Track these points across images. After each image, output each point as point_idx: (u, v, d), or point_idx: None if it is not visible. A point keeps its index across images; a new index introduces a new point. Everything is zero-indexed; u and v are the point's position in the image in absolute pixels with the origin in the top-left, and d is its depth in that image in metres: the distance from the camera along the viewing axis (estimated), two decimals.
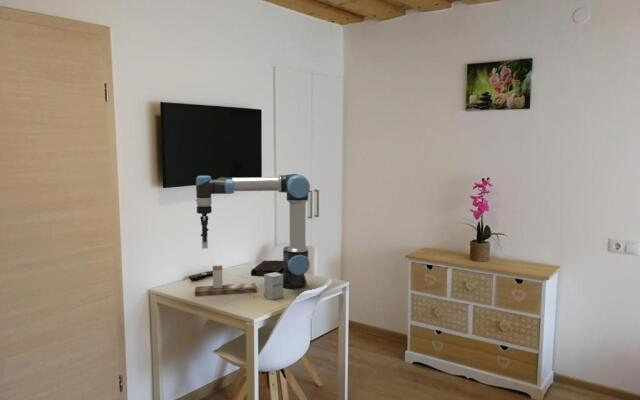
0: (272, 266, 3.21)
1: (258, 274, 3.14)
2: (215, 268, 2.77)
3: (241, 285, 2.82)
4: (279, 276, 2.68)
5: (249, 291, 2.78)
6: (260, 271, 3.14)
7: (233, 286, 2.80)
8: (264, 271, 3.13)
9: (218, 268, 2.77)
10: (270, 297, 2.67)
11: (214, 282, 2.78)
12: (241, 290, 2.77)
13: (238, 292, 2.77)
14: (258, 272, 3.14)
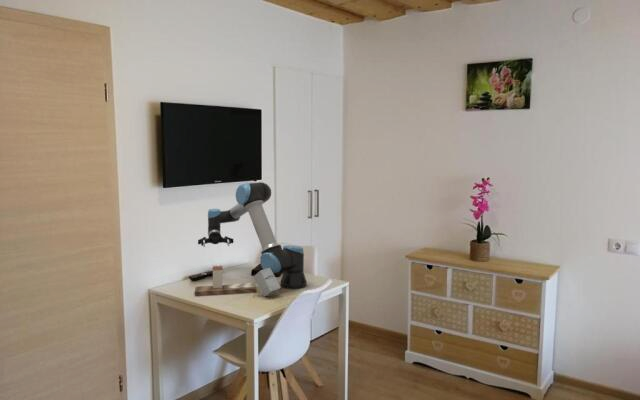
0: None
1: None
2: (215, 268, 2.77)
3: (241, 285, 2.82)
4: (267, 269, 2.73)
5: (249, 291, 2.78)
6: None
7: (233, 286, 2.80)
8: None
9: (218, 268, 2.77)
10: (268, 290, 2.68)
11: (214, 282, 2.78)
12: (241, 290, 2.77)
13: (238, 292, 2.77)
14: None
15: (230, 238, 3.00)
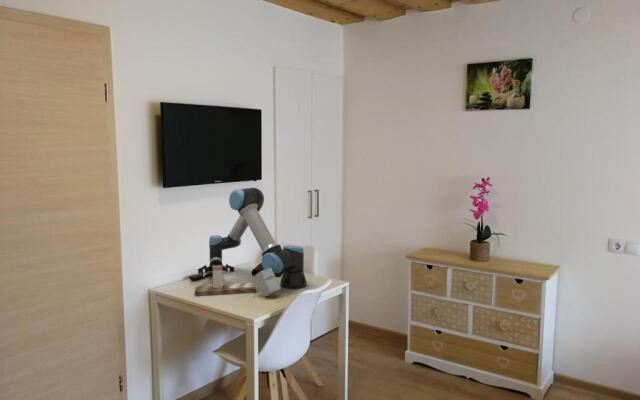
0: None
1: None
2: (215, 268, 2.77)
3: (241, 285, 2.82)
4: (268, 269, 2.72)
5: (249, 291, 2.78)
6: None
7: (233, 286, 2.80)
8: None
9: (218, 268, 2.77)
10: (268, 291, 2.68)
11: (214, 282, 2.78)
12: (241, 290, 2.77)
13: (238, 292, 2.77)
14: None
15: (231, 266, 2.94)
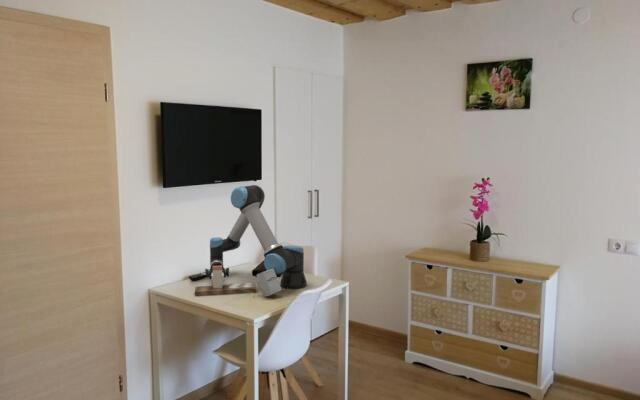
0: None
1: None
2: (215, 268, 2.77)
3: (241, 285, 2.82)
4: (270, 270, 2.71)
5: (249, 291, 2.78)
6: (261, 271, 3.14)
7: (233, 286, 2.80)
8: None
9: (218, 268, 2.77)
10: (269, 293, 2.68)
11: (214, 282, 2.78)
12: (241, 290, 2.77)
13: (238, 292, 2.77)
14: (259, 272, 3.14)
15: (227, 271, 2.84)
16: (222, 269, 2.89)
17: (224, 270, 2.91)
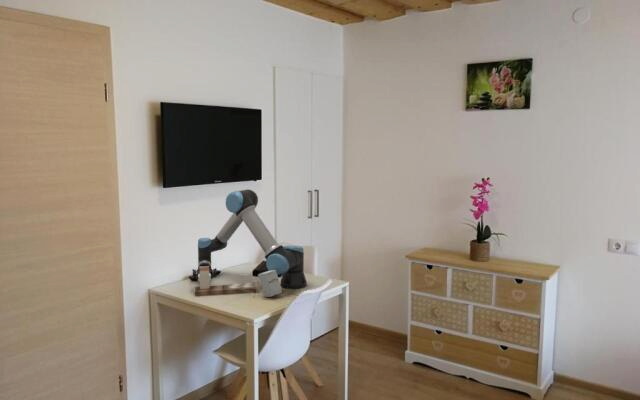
0: None
1: None
2: (202, 269, 2.75)
3: (241, 285, 2.82)
4: (272, 271, 2.70)
5: (249, 291, 2.78)
6: (261, 271, 3.14)
7: (233, 286, 2.80)
8: (265, 271, 3.13)
9: (205, 268, 2.76)
10: (269, 294, 2.67)
11: (201, 283, 2.76)
12: (241, 290, 2.77)
13: (238, 292, 2.77)
14: (259, 272, 3.14)
15: (214, 271, 2.83)
16: (209, 270, 2.88)
17: (212, 271, 2.89)
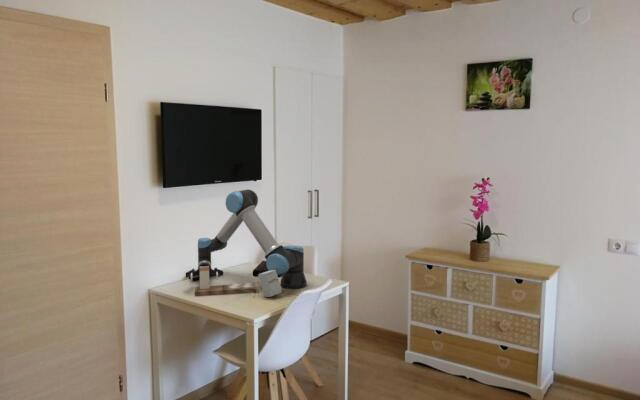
0: None
1: None
2: (202, 269, 2.75)
3: (241, 285, 2.82)
4: (272, 271, 2.70)
5: (249, 291, 2.78)
6: (262, 271, 3.13)
7: (233, 286, 2.80)
8: (266, 271, 3.13)
9: (205, 268, 2.76)
10: (269, 294, 2.67)
11: (201, 283, 2.76)
12: (241, 290, 2.77)
13: (238, 292, 2.77)
14: (260, 272, 3.14)
15: (220, 270, 2.85)
16: (211, 269, 2.88)
17: None
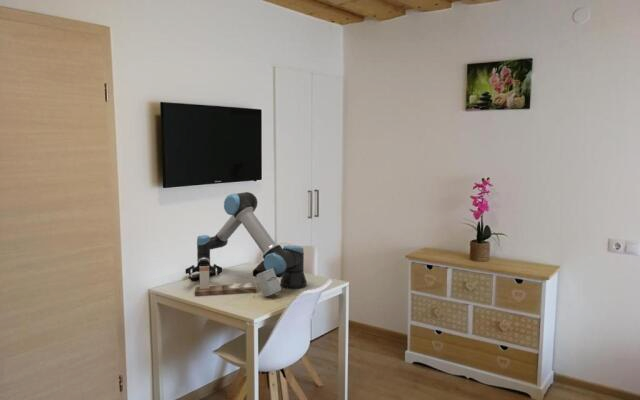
0: None
1: None
2: (202, 269, 2.75)
3: (241, 285, 2.82)
4: (270, 270, 2.71)
5: (249, 291, 2.78)
6: (262, 271, 3.13)
7: (233, 286, 2.80)
8: None
9: (205, 268, 2.76)
10: (269, 293, 2.67)
11: (201, 283, 2.76)
12: (241, 290, 2.77)
13: (238, 292, 2.77)
14: (260, 272, 3.14)
15: None
16: (210, 266, 2.95)
17: None
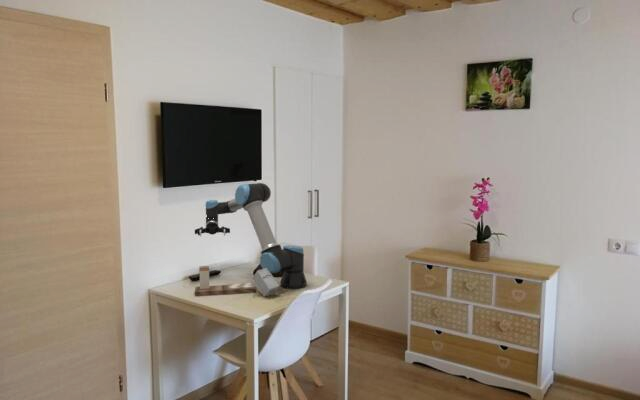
0: None
1: None
2: (202, 269, 2.75)
3: (241, 285, 2.82)
4: (264, 269, 2.75)
5: (249, 291, 2.78)
6: None
7: (233, 286, 2.80)
8: None
9: (205, 268, 2.76)
10: (267, 289, 2.69)
11: (201, 283, 2.76)
12: (241, 290, 2.77)
13: (238, 292, 2.77)
14: None
15: (227, 228, 3.02)
16: (218, 228, 3.05)
17: None
